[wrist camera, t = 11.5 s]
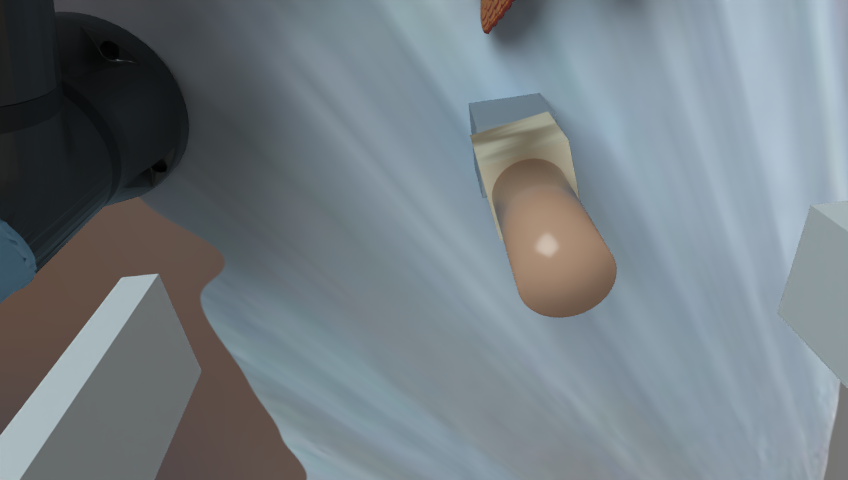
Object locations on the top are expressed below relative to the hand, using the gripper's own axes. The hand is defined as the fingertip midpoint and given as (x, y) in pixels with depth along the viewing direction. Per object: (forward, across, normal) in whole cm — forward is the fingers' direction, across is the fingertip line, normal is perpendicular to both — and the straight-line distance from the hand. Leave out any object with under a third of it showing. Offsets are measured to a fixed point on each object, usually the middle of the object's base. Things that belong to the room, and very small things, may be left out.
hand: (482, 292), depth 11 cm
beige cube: (+30, +6, -10) cm, 32 cm away
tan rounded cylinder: (+24, +6, -10) cm, 26 cm away
